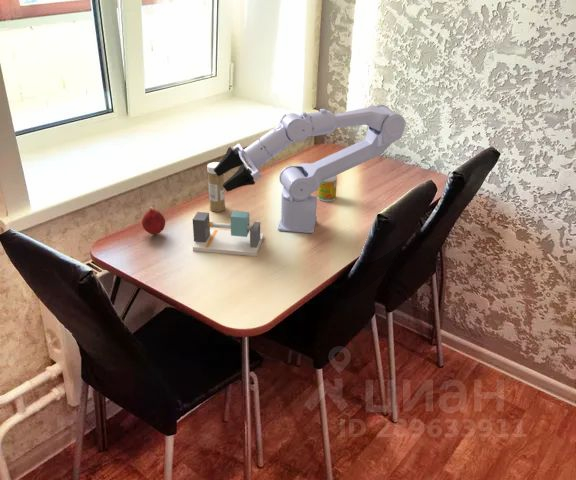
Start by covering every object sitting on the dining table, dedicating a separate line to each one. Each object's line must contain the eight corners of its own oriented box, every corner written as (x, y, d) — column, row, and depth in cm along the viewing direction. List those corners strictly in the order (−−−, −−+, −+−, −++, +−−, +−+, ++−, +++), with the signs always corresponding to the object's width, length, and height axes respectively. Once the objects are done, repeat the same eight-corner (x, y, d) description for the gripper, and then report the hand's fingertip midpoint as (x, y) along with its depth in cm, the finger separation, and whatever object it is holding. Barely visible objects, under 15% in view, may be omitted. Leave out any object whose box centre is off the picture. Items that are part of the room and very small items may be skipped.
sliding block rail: (263, 237, 150) (263, 212, 147) (256, 256, 141) (255, 230, 138) (202, 231, 152) (200, 206, 148) (191, 250, 143) (189, 224, 140)
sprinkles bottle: (228, 210, 164) (226, 165, 157) (213, 213, 161) (211, 168, 155) (220, 204, 167) (219, 160, 160) (206, 207, 165) (204, 163, 158)
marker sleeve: (249, 230, 146) (249, 212, 143) (246, 236, 143) (246, 217, 140) (234, 229, 146) (233, 210, 144) (231, 235, 144) (230, 216, 141)
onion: (170, 231, 152) (167, 204, 148) (159, 242, 147) (156, 213, 143) (150, 228, 153) (148, 200, 149) (139, 238, 148) (135, 210, 144)
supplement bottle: (315, 200, 170) (316, 169, 166) (320, 193, 175) (322, 163, 170) (332, 203, 169) (334, 172, 164) (337, 196, 173) (340, 166, 168)
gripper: (247, 124, 145) (203, 156, 146) (267, 151, 135) (220, 185, 135) (260, 143, 150) (218, 174, 151) (281, 171, 140) (235, 203, 140)
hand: (220, 180), depth 143 cm, fingers open, 7 cm apart
